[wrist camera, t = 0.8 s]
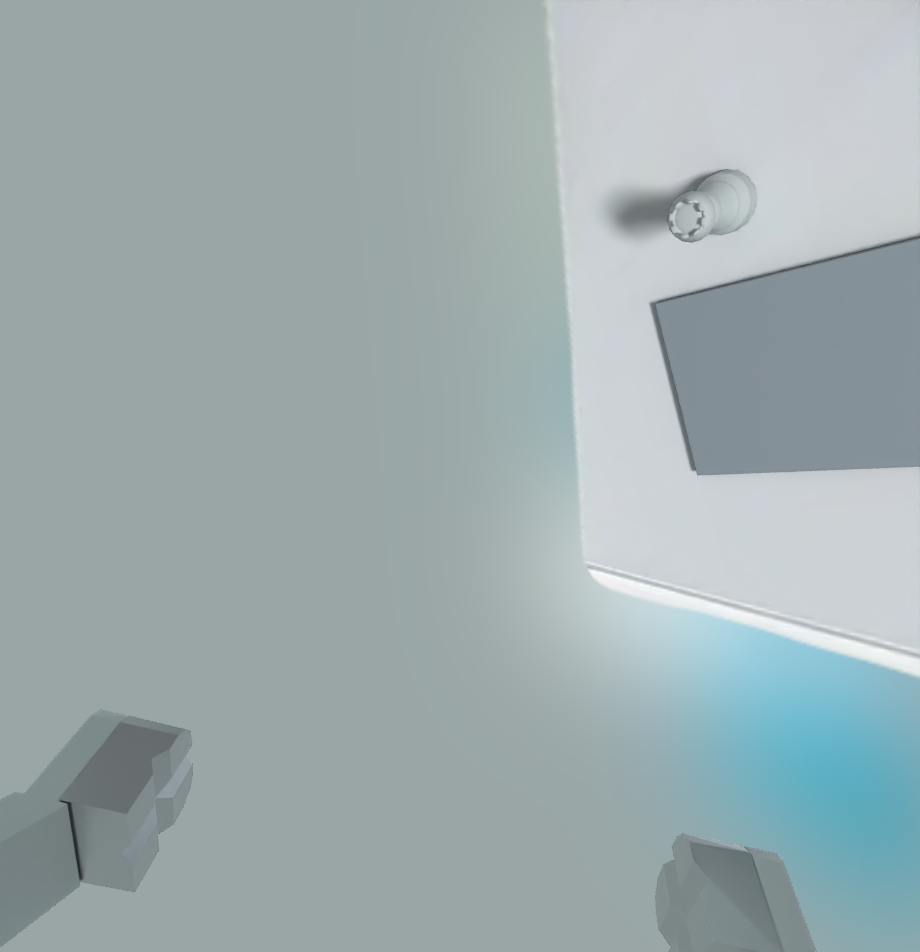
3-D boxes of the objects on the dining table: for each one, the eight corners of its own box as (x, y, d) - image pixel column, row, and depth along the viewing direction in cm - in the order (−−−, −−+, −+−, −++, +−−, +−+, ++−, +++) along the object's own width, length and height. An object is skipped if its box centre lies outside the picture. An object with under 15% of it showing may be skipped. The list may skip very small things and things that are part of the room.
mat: (956, 228, 40) (954, 230, 39) (980, 459, 44) (979, 464, 44) (659, 301, 54) (655, 304, 53) (700, 471, 58) (697, 475, 58)
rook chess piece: (770, 178, 45) (731, 194, 40) (743, 241, 48) (704, 263, 42) (711, 160, 47) (667, 173, 41) (688, 222, 49) (645, 241, 44)
